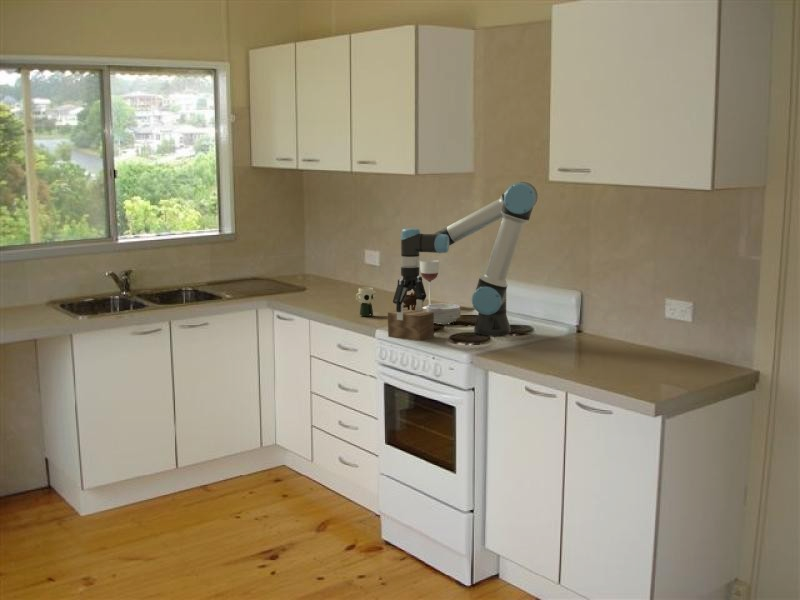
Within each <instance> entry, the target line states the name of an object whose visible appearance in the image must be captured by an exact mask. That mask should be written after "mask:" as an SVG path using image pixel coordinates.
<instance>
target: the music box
mask: <svg viewBox="0 0 800 600" xmlns="http://www.w3.org/2000/svg"><path fill="white" fill-rule="evenodd" d="M404 288H405V287H404ZM410 291H412V292H410ZM408 292H410V293H409V294H408V293H407V294H406V296H405V298H404V300H403V302H402V304H403V309H405V308H406V309H407V310H414V311H416V300H417V299H418V298H417V296H416V295H415V293H414V291H413V289H409V291H408ZM418 300H419V299H418ZM424 301H425V300H423V303H424ZM423 307H424V305H423Z"/></svg>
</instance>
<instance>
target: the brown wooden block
mask: <svg viewBox="0 0 800 600" xmlns="http://www.w3.org/2000/svg"><path fill="white" fill-rule="evenodd" d="M434 325H435V324H434V313H433V312H426V311H425V310H423V311H414V310H411V309H410V310H408V309H405V308H403V320H397V311H396V310H393V311H389V312H387V336H388V337H391V338H397V339H398V338H399V339H406V340H412V339H415V340H414V341H419V340H420V341H423V340H426V339H430V338H433V337H435V335H434V334H435V333H434V332H435V331H434V330H435V329H434V327H435V326H434Z"/></svg>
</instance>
